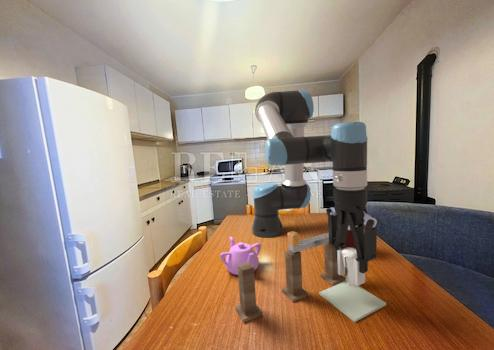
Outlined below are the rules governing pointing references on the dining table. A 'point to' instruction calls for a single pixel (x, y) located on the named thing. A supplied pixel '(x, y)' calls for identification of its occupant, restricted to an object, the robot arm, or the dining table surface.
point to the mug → (349, 239)
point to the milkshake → (349, 266)
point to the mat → (352, 300)
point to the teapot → (240, 256)
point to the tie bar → (305, 241)
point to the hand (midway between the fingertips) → (350, 277)
